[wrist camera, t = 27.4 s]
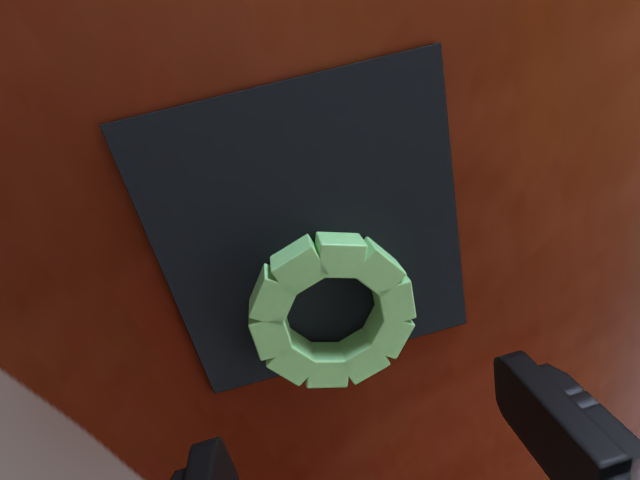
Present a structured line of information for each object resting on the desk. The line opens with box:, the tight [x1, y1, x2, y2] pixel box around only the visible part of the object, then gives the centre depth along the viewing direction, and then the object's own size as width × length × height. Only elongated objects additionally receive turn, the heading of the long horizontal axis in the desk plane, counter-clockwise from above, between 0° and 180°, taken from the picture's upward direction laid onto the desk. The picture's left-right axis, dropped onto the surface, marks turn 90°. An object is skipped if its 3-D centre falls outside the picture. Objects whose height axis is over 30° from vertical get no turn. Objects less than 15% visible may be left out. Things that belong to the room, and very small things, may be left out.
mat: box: [100, 43, 466, 394], centre depth 16 cm, size 12×12×1 cm
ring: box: [248, 232, 416, 388], centre depth 16 cm, size 7×7×1 cm
